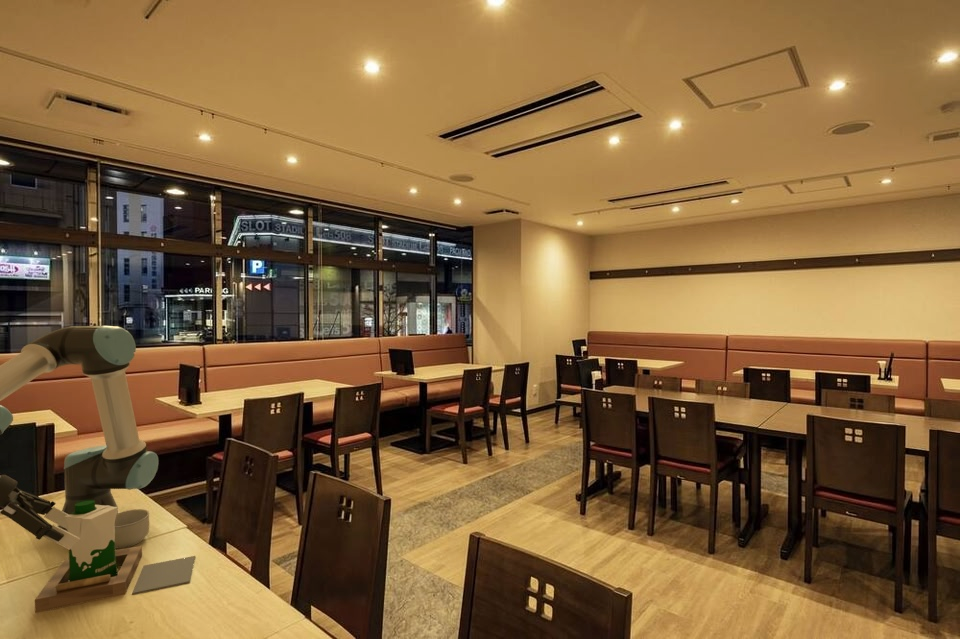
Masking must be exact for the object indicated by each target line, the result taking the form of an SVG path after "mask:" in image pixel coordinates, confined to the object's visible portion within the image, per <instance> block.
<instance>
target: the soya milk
mask: <svg viewBox="0 0 960 639" xmlns="http://www.w3.org/2000/svg"><path fill="white" fill-rule="evenodd" d="M117 510H118V511H119V507H118V506H117V507H112V506H109V505H106V506H105V505H95V501H94V500H85V501H81V502H78V503H76V504H75V512H73V513H71V514H69V515H67V516H65V522H66V526H67V529H66V531H67V532H69V533H71V534H73V535H75V536H77V537H79V538H80V540H79V541H78V542H77V543H76V544H75V545H74V546H73V547H72V548H71V549H70V550H69V549H68V558H69V581H68V582H72V581H77V580H82V579H87V578H93V577H98V576H103V575H108V574H110V577H114V576H117V575H118V573H119V571H118V567H117V564H116V557H115V550H116V547H115V519H116V515H117Z"/></svg>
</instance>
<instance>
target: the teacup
mask: <svg viewBox="0 0 960 639" xmlns="http://www.w3.org/2000/svg"><path fill="white" fill-rule="evenodd" d="M149 531H150V511H149V510H147V509H143V508H142V509H140V508H138V509H130V510H125V511H121V512H118V514H117V515H116V519H115V549H125V548H131V547H135V545H139V543H141V542H142V541H143V539H145V538H146V536H148V533H149Z"/></svg>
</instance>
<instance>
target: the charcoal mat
mask: <svg viewBox="0 0 960 639" xmlns="http://www.w3.org/2000/svg"><path fill="white" fill-rule="evenodd" d="M184 558H185V559H184ZM194 560H196V555H192V556H186V557H182V558H177V559H171V560H166V561H161V562H155V563H149V564H145V565H143V566H142V568H141V571H140V572H139V576H138V578H137V580H136V582H135V585H134V587H133V590H132V591H131V592H132V593H131V595H137V594H141V593H147V592H151V591H156V590H160V589H161V590H162V589H166V588H172V587H177V586H179V585H184V584H185V585H186V584H190V583H191V578H192V574H193V570H192V569H194V565H195V561H194ZM193 564H194V565H193Z"/></svg>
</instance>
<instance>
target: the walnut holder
mask: <svg viewBox="0 0 960 639" xmlns="http://www.w3.org/2000/svg"><path fill="white" fill-rule="evenodd" d="M115 557H116V564H117V568H120V569H119V571H118V575H117V576H114V577H110V574H108V575H103V576H98V577H93V578H87V579H82V580H77V581H72V582H69V557H68V558H64V560H63V561H62V562H61V564H60V565H59V566H58V568H57V569H56V570H55V572H54V573H53V574H52V575H51V577H50V579H49V580H48V581H47V582H46V584H45V585H44V587H43V588H42V589H41V590H40V592H38V595H37V596H36V597H35V599H34V613H40V612H45V611H51V610H55V609H59V608H64V607H69V606H74V605H80V604H83V603H88V602H93V601H97V600H98V601H99V600H103V599H107V598H113V597H117V596H118V597H119V596H122V595H126V594H127V592H128V590H129V587H130V585H131V582H132V581H133V578H134V575H135V573H136V571H137V569H138V567H139V564H140V562H141V560H142V557H143V546H142V545H139V546H138V545H137V546H131V547H127V548H119V549H115ZM50 609H51V610H50Z"/></svg>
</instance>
